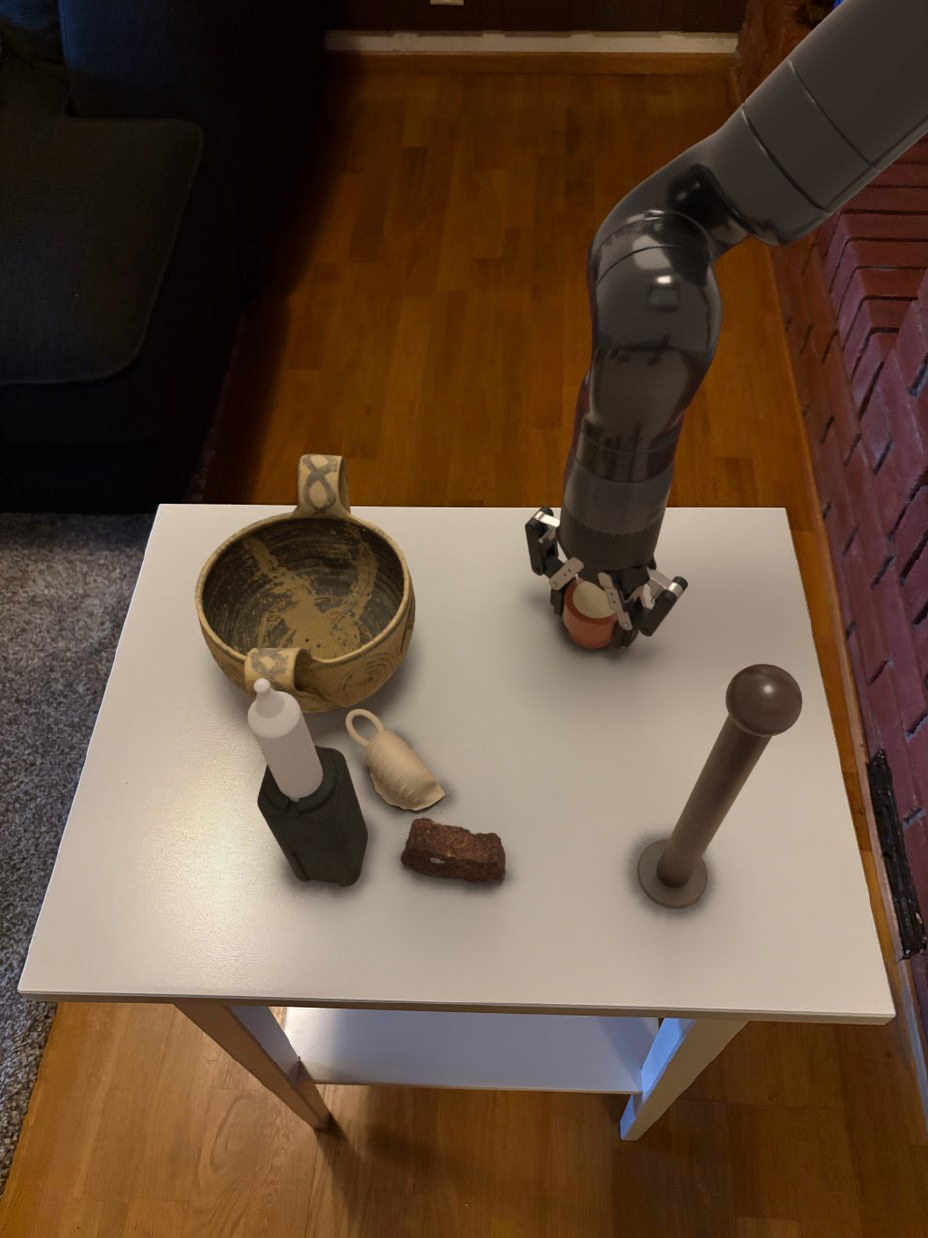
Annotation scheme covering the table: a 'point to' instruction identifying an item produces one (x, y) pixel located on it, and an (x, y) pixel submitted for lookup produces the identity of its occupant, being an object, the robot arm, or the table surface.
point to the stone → (453, 852)
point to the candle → (306, 793)
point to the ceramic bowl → (309, 598)
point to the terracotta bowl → (588, 615)
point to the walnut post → (720, 782)
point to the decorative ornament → (396, 767)
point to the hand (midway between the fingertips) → (591, 624)
